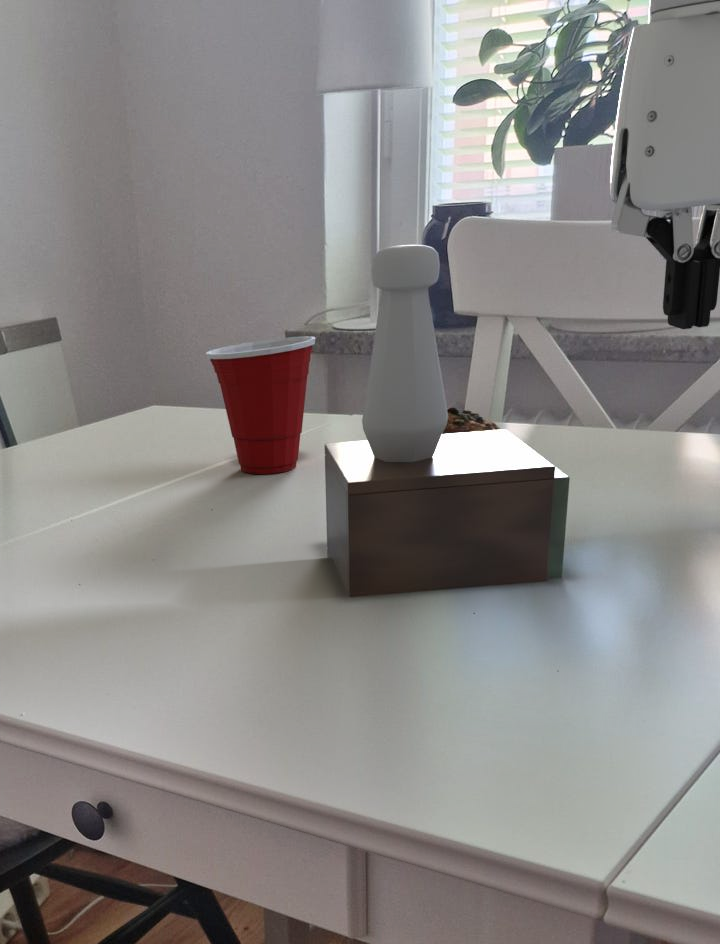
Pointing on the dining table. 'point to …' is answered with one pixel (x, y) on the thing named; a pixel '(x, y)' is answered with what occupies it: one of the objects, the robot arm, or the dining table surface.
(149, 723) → the dining table surface
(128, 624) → the dining table surface
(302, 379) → the plastic cup
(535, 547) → the cabinet
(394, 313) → the salt shaker
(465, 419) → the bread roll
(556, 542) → the drawer
